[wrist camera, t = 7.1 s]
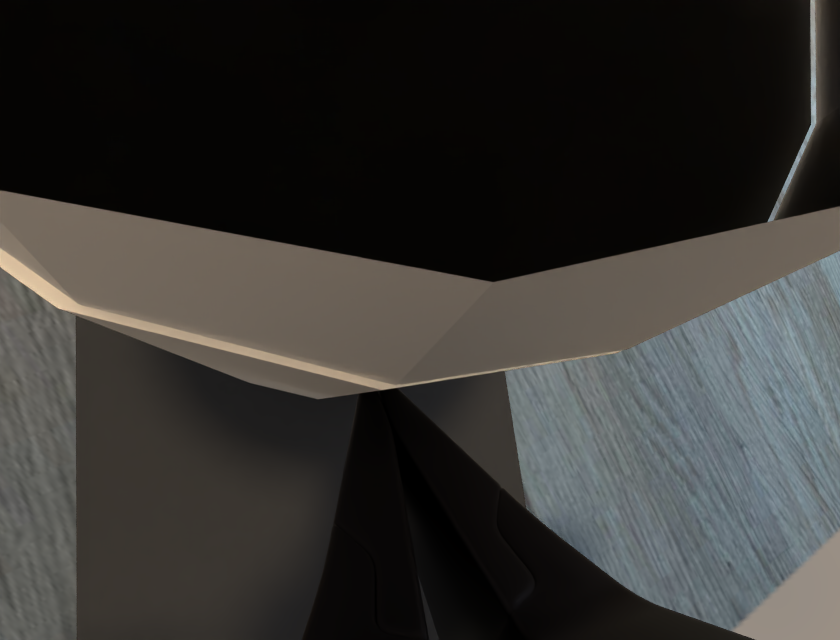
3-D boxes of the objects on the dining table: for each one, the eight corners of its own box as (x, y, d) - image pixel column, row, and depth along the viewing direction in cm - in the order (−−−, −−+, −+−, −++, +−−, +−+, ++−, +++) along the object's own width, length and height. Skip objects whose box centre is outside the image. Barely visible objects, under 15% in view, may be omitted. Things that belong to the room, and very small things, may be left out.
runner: (547, 659, 17) (550, 662, 17) (80, 825, 13) (77, 831, 12) (441, -18, 22) (442, -22, 22) (76, -77, 18) (74, -82, 17)
